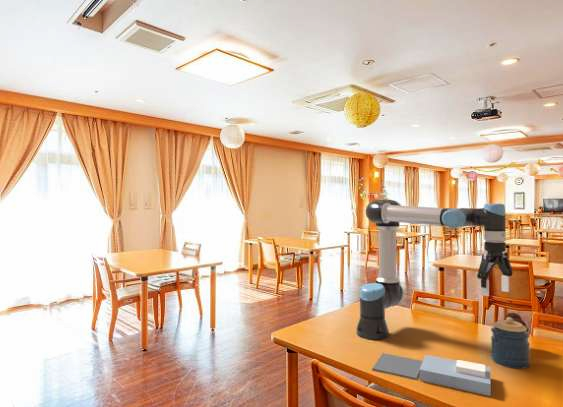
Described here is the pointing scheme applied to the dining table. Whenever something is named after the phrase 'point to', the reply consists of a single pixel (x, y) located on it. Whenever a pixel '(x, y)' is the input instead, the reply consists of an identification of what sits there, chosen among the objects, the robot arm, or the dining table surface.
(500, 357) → the canister
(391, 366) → the mat
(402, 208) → the robot arm
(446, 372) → the block
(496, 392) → the dining table surface
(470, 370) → the white rectangular block
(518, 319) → the ice cream bowl
